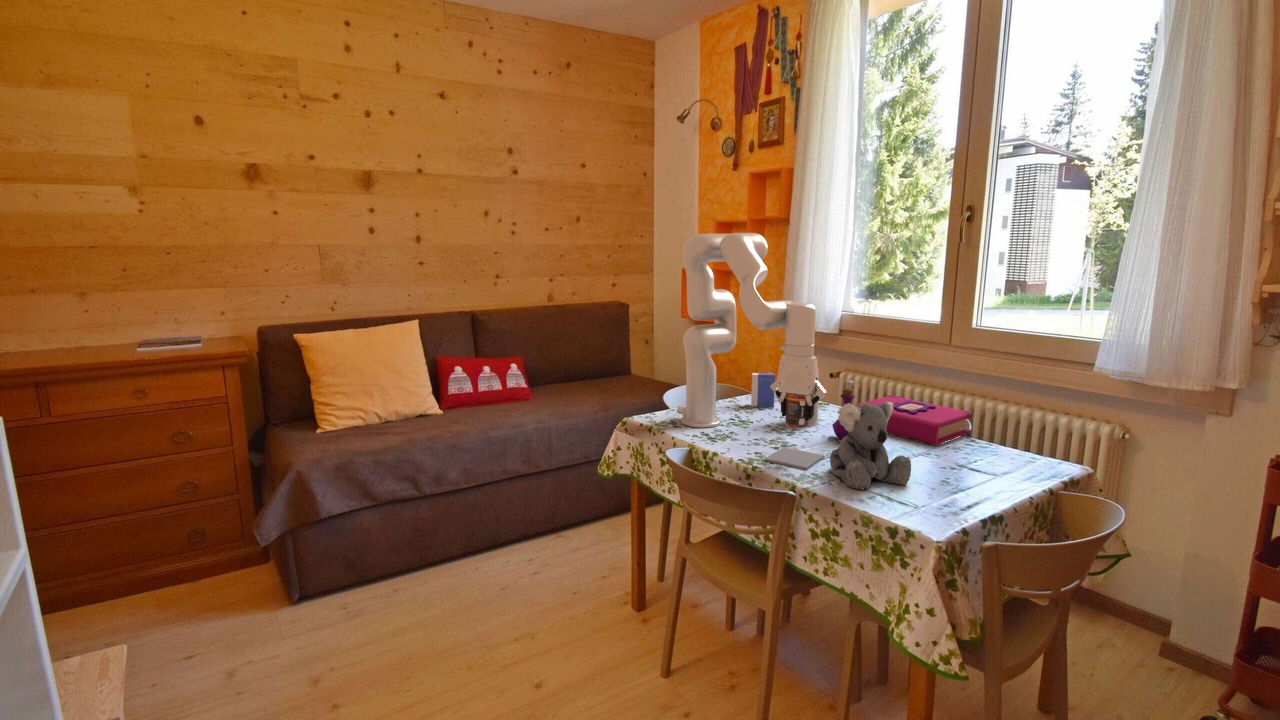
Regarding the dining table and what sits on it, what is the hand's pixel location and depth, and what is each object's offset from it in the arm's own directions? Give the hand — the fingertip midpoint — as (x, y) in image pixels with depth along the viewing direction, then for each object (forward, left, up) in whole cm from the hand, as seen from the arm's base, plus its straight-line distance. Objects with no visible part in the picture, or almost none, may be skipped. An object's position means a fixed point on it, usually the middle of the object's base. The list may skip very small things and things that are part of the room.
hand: (796, 416), depth 178 cm
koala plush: (+19, -2, -12) cm, 23 cm away
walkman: (-32, +45, -12) cm, 57 cm away
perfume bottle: (+5, +25, -12) cm, 28 cm away
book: (+17, +47, -13) cm, 52 cm away
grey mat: (0, 0, -12) cm, 12 cm away
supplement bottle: (0, 0, -3) cm, 3 cm away
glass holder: (-14, +33, -12) cm, 38 cm away
